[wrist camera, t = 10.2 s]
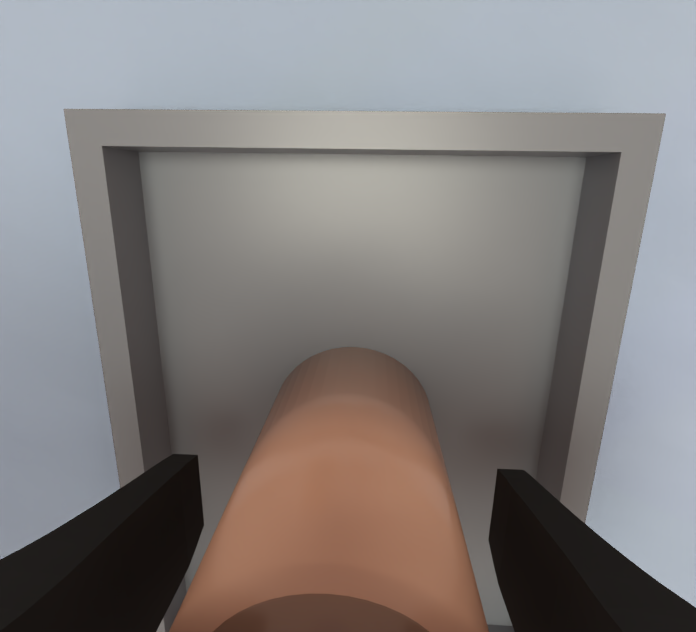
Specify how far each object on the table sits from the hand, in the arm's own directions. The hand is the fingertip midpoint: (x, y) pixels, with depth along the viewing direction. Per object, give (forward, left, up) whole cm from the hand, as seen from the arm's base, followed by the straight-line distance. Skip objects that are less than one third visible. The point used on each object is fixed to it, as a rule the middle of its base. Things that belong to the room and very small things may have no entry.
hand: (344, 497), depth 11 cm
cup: (0, 0, -4) cm, 4 cm away
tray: (0, 0, -4) cm, 4 cm away
